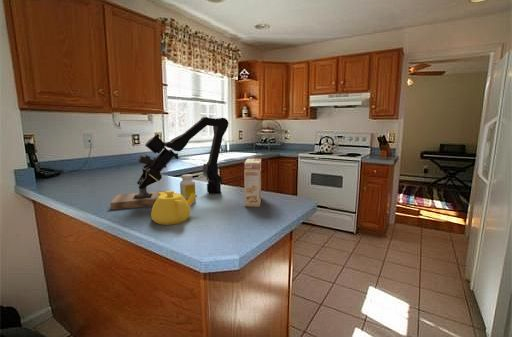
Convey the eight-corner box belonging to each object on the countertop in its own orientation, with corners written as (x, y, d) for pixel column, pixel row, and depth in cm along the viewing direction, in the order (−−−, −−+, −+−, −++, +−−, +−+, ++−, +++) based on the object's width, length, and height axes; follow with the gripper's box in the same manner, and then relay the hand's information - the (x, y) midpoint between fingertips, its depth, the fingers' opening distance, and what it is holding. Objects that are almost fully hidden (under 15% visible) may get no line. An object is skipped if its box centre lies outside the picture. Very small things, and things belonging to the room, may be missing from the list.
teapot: (211, 218, 101) (210, 190, 99) (165, 232, 88) (163, 200, 86) (184, 206, 115) (183, 182, 113) (142, 217, 102) (140, 189, 101)
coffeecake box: (260, 206, 115) (260, 162, 111) (243, 206, 115) (243, 162, 112) (261, 197, 129) (261, 158, 126) (247, 197, 130) (246, 158, 127)
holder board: (170, 196, 132) (170, 190, 131) (170, 204, 118) (169, 198, 118) (118, 200, 125) (117, 194, 124) (111, 209, 111) (110, 202, 111)
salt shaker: (136, 201, 123) (134, 176, 121) (149, 199, 126) (148, 175, 124) (137, 205, 118) (135, 178, 116) (151, 203, 120) (149, 177, 118)
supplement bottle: (198, 201, 123) (197, 174, 121) (189, 205, 117) (188, 177, 115) (187, 199, 126) (186, 173, 124) (177, 203, 120) (176, 175, 118)
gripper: (145, 147, 127) (122, 171, 124) (152, 150, 111) (125, 178, 108) (163, 162, 132) (141, 185, 129) (172, 167, 117) (147, 194, 113)
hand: (138, 185), depth 119 cm, fingers open, 9 cm apart
